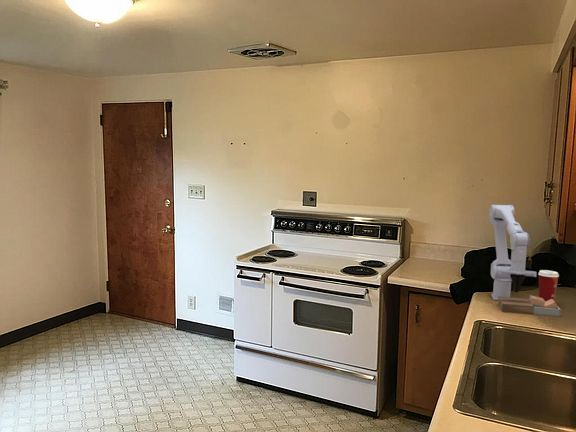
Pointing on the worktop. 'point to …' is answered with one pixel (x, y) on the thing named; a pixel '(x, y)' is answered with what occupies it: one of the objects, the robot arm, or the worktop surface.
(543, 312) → the tray
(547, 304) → the tile
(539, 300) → the tile
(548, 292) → the coffee cup
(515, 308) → the board
